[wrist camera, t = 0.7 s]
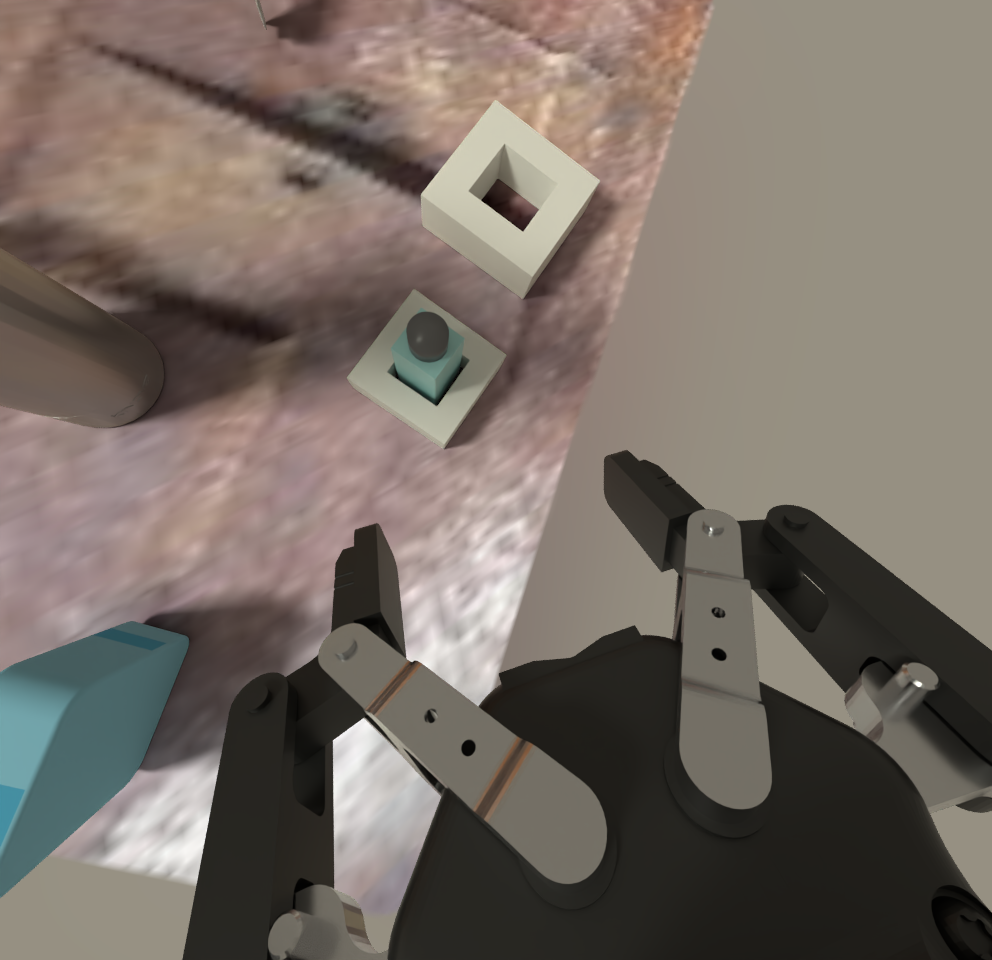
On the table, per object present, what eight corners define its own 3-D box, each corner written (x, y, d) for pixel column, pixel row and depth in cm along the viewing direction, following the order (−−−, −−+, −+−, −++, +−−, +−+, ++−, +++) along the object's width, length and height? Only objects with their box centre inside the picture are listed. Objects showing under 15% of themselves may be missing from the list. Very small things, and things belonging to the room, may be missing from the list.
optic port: (422, 225, 40) (420, 194, 36) (489, 138, 42) (495, 99, 38) (522, 299, 41) (532, 276, 37) (584, 211, 43) (600, 181, 39)
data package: (140, 615, 34) (-16, 672, 22) (196, 630, 35) (72, 694, 23) (78, 763, 33) (-124, 908, 21) (137, 776, 33) (-27, 925, 21)
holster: (353, 388, 38) (346, 377, 35) (415, 305, 39) (413, 288, 36) (443, 449, 39) (444, 444, 36) (501, 366, 40) (506, 354, 37)
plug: (399, 381, 38) (387, 337, 29) (423, 348, 39) (420, 293, 29) (435, 405, 39) (435, 370, 29) (458, 372, 39) (466, 326, 30)
